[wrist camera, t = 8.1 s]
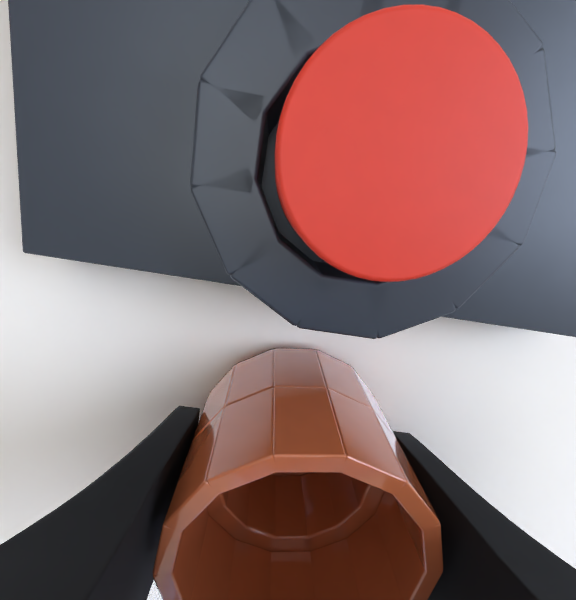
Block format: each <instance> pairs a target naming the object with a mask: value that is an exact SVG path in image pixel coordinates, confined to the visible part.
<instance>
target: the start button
mask: <svg viewBox="0 0 576 600" xmlns="http://www.w3.org/2000/svg"><path fill="white" fill-rule="evenodd" d="M527 144H528V117H527V108H526V103H525V98H524V93H523V89H522V87H521V84H520V81H519V78H518V75H517V73H516V71H515V69H514V67H513V65H512V63H511V61H510V59H509V58H508V56H507V55H506V53H505V52H504V51H503V49H502V48H501V46H500V45H499V44H498V43H497V42H496V41H495V40H494V39H493V37H492V36H491V35H490V34H489V33H488V32H487V31H485V30H484V29H483V28H481V27H480V26H479V25H477V24H476V23H475V22H473V21H472V20H470V19H468V18H466V17H464V16H462V15H460V14H458V13H456V12H453V11H450V10H447V9H444V8H441V7H435V6H429V5H399V6H394V7H388V8H383V9H380V10H377V11H374V12H372V13H369V14H366V15H364V16H362V17H360V18H358V19H356V20H354V21H352V22H350V23H348V24H347V25H345V26H344V27H342V28H341V29H339V30H338V31H337V32H335V33H334V34H332V35H331V36H330V37H329V38H328V39H327V40H326V41H325V42H324V43H323V44H322V45H320V46H319V47H318V48H317V50H316V51H315V52H314V53H313V54H312V56H311V57H310V58H309V59H308V60H307V62H306V63H305V64H304V66H303V67H302V69H301V71H300V72H299V74H298V75H297V77H296V78H295V80H294V82H293V84H292V86H291V88H290V91H289V93H288V95H287V97H286V100H285V103H284V106H283V109H282V112H281V115H280V119H279V123H278V128H277V133H276V143H275V181H276V187H277V193H278V197H279V200H280V204H281V207H282V209H283V211H284V213H285V216H286V218H287V219H288V221H289V223H290V224H291V226H292V228H293V229H294V230H295V231H296V233H297V234H298V235H299V236H300V238H301V239H302V240H303V241H304V242H305V244H306V245H307V246H308V247H309V248H310V249H311V250H312V251H313V252H314V253H315V254H316V255H317V256H318V257H320V258H321V259H323V260H324V261H325V262H327V263H328V264H329V265H331V266H333V267H335V268H336V269H338V270H340V271H342V272H344V273H347V274H349V275H352V276H355V277H357V278H362V279H366V280H370V281H380V282H399V281H406V280H412V279H417V278H420V277H424V276H427V275H430V274H432V273H435V272H437V271H439V270H442V269H444V268H446V267H448V266H449V265H451V264H453V263H455V262H456V261H458V260H460V259H461V258H462V257H464V256H465V255H466V254H468V253H469V252H470V251H472V250H473V249H474V248H475V247H476V246H477V245H478V244H479V243H480V242H482V241H483V240H484V239H485V237H486V236H487V235H488V234H489V233H490V232H491V230H492V229H493V228H494V227H495V226H496V224H497V223H498V221H499V220H500V218H501V217H502V216H503V214H504V213H505V211H506V209H507V207H508V205H509V203H510V202H511V200H512V198H513V196H514V193H515V191H516V188H517V186H518V183H519V181H520V178H521V174H522V170H523V167H524V163H525V157H526V151H527Z"/></svg>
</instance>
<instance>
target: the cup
mask: <svg viewBox="0 0 576 600" xmlns="http://www.w3.org/2000/svg"><path fill="white" fill-rule="evenodd" d="M152 572H153V578H154V580H155V583H156V585H157V587H158V589H159V592H160V594H161V596H162V599H163V600H428V599H429V597H430V595H431V593H432V592H433V590H434V588H435V586H436V584H437V582H438V581H439V579H440V577H441V575H442V573H443V554H442V537H441V524H440V522H439V519H438V517H437V515H436V513H435V511H434V509H433V508H432V506H431V504H430V502H429V500H428V498H427V496H426V494H425V492H424V490H423V488H422V487H421V485H420V483H419V481H418V479H417V477H416V475H415V473H414V471H413V469H412V467H411V466H410V464H409V462H408V460H407V458H406V456H405V454H404V452H403V450H402V448H401V447H400V445H399V443H398V441H397V439H396V437H395V435H394V433H393V431H392V430H391V428H390V426H389V424H388V422H387V420H386V418H385V416H384V414H383V412H382V410H381V409H380V407H379V405H378V403H377V401H376V399H375V397H374V395H373V394H372V392H371V391H370V390H369V388H368V387H367V386H366V384H365V383H364V382H363V380H362V379H361V378H360V376H359V375H358V374H357V372H356V371H355V370H354V368H352V367H351V366H350V365H348V364H346V363H344V362H342V361H340V360H338V359H336V358H334V357H332V356H330V355H327V354H325V353H323V352H321V351H319V350H315V349H289V348H275V349H271V350H269V351H266V352H264V353H262V354H259V355H257V356H254V357H252V358H249V359H247V360H245V361H242V362H240V363H237V364H236V365H234V366H233V367H232V368H231V369H230V370H229V372H228V373H227V374H226V375H225V376H224V377H223V378H222V379H221V380H220V382H219V383H218V384H217V385H216V386H215V387H214V388H213V389H212V390H211V392H210V394H209V396H208V399H207V401H206V404H205V407H204V410H203V413H202V415H201V418H200V421H199V424H198V427H197V429H196V432H195V435H194V438H193V441H192V444H191V446H190V449H189V452H188V455H187V457H186V460H185V463H184V466H183V469H182V471H181V474H180V477H179V480H178V483H177V486H176V488H175V491H174V494H173V497H172V500H171V502H170V505H169V508H168V511H167V514H166V516H165V519H164V522H163V525H162V529H161V534H160V539H159V543H158V548H157V553H156V557H155V562H154V566H153V571H152Z"/></svg>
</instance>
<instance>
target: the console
mask: <svg viewBox="0 0 576 600" xmlns="http://www.w3.org/2000/svg"><path fill="white" fill-rule="evenodd" d="M8 4H9V21H10V38H11V55H12V72H13V89H14V106H15V123H16V140H17V157H18V174H19V191H20V208H21V225H22V242H23V252H24V253H29V254H35V255H42V256H48V257H55V258H61V259H68V260H75V261H81V262H88V263H94V264H101V265H107V266H114V267H120V268H127V269H134V270H140V271H147V272H153V273H160V274H166V275H173V276H179V277H186V278H192V279H199V280H206V281H212V282H219V283H225V284H232V285H238V286H242V287H244V288H245V289H246V290H248V291H249V292H250V293H252V294H253V295H254V296H255V297H257V298H258V299H259V300H261V301H262V302H263V303H265V304H266V305H267V306H269V307H270V308H271V309H272V310H274V311H275V312H276V313H278V314H279V315H280V316H282V317H283V318H284V319H286V320H287V321H288V322H289V323H291V324H292V325H295V326H296V325H297V327H299V328H302V329H309V330H316V331H323V332H330V333H337V334H344V335H351V336H358V337H365V338H372V339H375V338H382V337H385V336H388V335H391V334H393V333H396V332H399V331H402V330H405V329H408V328H410V327H413V326H416V325H419V324H422V323H424V322H427V321H430V320H433V319H436V318H439V317H448V318H455V319H461V320H468V321H474V322H481V323H487V324H494V325H500V326H507V327H514V328H520V329H527V330H533V331H540V332H546V333H553V334H559V335H566V336H573V337H576V0H8ZM399 5H429V6H435V7H441V8H444V9H447V10H450V11H453V12H456V13H458V14H460V15H462V16H464V17H466V18H468V19H470V20H472V21H473V22H475V23H476V24H477V25H479V26H480V27H481V28H483V29H484V30H485V31H487V32H488V33H489V34H490V35H491V36H492V37H493V39H494V40H495V41H496V42H497V43H498V44H499V45H500V46H501V48H502V49H503V51H504V52H505V53H506V55H507V56H508V58H509V59H510V61H511V63H512V65H513V67H514V69H515V71H516V73H517V75H518V78H519V81H520V84H521V87H522V89H523V93H524V98H525V103H526V108H527V117H528V144H527V151H526V157H525V163H524V167H523V170H522V174H521V178H520V181H519V183H518V186H517V188H516V191H515V193H514V196H513V198H512V200H511V202H510V203H509V205H508V207H507V209H506V211H505V213H504V214H503V216H502V217H501V218H500V220H499V221H498V223H497V224H496V226H495V227H494V228H493V229H492V230H491V232H490V233H489V234H488V235H487V236H486V237H485V239H484V240H483V241H482V242H480V243H479V244H478V245H477V246H476V247H475V248H474V249H473V250H472V251H470V252H469V253H468V254H466V255H465V256H464V257H462V258H461V259H460V260H458V261H456V262H455V263H453V264H451V265H449V266H448V267H446V268H444V269H442V270H439V271H437V272H435V273H432V274H430V275H427V276H424V277H420V278H417V279H412V280H406V281H399V282H380V281H370V280H366V279H362V278H357V277H355V276H352V275H349V274H347V273H344V272H342V271H340V270H338V269H336V268H335V267H333V266H331V265H329V264H328V263H327V262H325V261H324V260H323V259H321V258H320V257H318V256H317V255H316V254H315V253H314V252H313V251H312V250H311V249H310V248H309V247H308V246H307V245H306V244H305V242H304V241H303V240H302V239H301V238H300V236H299V235H298V234H297V233H296V231H295V230H294V229H293V228H292V226H291V224H290V223H289V221H288V219H287V218H286V216H285V213H284V211H283V209H282V207H281V204H280V200H279V197H278V193H277V187H276V181H275V143H276V133H277V128H278V123H279V119H280V115H281V112H282V109H283V106H284V103H285V100H286V97H287V95H288V93H289V91H290V88H291V86H292V84H293V82H294V80H295V78H296V77H297V75H298V74H299V72H300V71H301V69H302V67H303V66H304V64H305V63H306V62H307V60H308V59H309V58H310V57H311V56H312V54H313V53H314V52H315V51H316V50H317V48H318V47H319V46H320V45H322V44H323V43H324V42H325V41H326V40H327V39H328V38H329V37H330V36H331V35H332V34H334V33H335V32H337V31H338V30H339V29H341V28H342V27H344V26H345V25H347V24H348V23H350V22H352V21H354V20H356V19H358V18H360V17H362V16H364V15H366V14H369V13H372V12H374V11H377V10H380V9H383V8H388V7H394V6H399Z"/></svg>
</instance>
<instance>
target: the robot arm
mask: <svg viewBox="0 0 576 600" xmlns="http://www.w3.org/2000/svg"><path fill="white" fill-rule="evenodd" d="M199 411H200V408H193V407H184V406H179V407H177V408H176V409H175V410H174V411H173V412H172V413H171V414H170V415H169V416H168V417H167V418H166V419H165V420H164V421H163V422H162V423H161V424H160V425H159V426H158V427H157V428H156V429H155V430H154V431H153V432H151V433H150V434H149V435H148V436H147V437H146V438H145V439H144V440H143V441H142V442H141V443H139V444H138V445H137V446H136V447H135V448H134V449H133V450H132V451H131V452H129V453H128V454H127V455H126V456H125V457H124V458H122V459H121V460H120V461H119V462H118V463H116V464H115V465H114V466H113V467H111V468H110V469H109V470H108V471H106V472H105V473H104V474H103V475H102V476H100V477H99V478H98V479H97V480H95V481H94V482H93V483H91V484H90V485H89V486H87V487H86V488H85V489H83V490H82V491H81V492H79V493H78V494H77V495H75V496H74V497H72V498H71V499H70V500H68V501H67V502H65V503H64V504H62V505H61V506H60V507H58V508H57V509H55V510H54V511H52V512H51V513H49V514H48V515H46V516H45V517H43V518H42V519H40V520H39V521H37V522H36V523H34V524H33V525H31V526H29V527H28V528H26V529H25V530H23V531H22V532H20V533H18V534H17V535H15V536H14V537H12V538H11V539H9V540H7V541H6V542H4V543H3V544H1V545H0V600H147V597H148V594H149V591H150V588H151V585H152V583H153V580H154V578H153V572H152V571H153V566H154V562H155V557H156V553H157V548H158V543H159V539H160V534H161V529H162V525H163V522H164V519H165V516H166V514H167V511H168V508H169V505H170V502H171V500H172V497H173V494H174V491H175V488H176V486H177V483H178V480H179V477H180V474H181V471H182V469H183V466H184V463H185V460H186V457H187V455H188V452H189V449H190V446H191V444H192V441H193V438H194V435H195V432H196V429H197V427H198V421H199ZM393 433H394V435H395V437H396V439H397V441H398V443H399V445H400V447H401V448H402V450H403V452H404V454H405V456H406V458H407V460H408V462H409V464H410V466H411V467H412V469H413V471H414V473H415V475H416V477H417V479H418V481H419V483H420V485H421V487H422V488H423V490H424V492H425V494H426V496H427V498H428V500H429V502H430V504H431V506H432V508H433V509H434V511H435V513H436V515H437V517H438V519H439V522H440V524H441V537H442V554H443V573H442V575H441V577H440V579H439V581H438V582H437V584H436V586H435V588H434V590H433V592H432V593H431V595H430V597H429V599H428V600H576V569H575V568H573V567H572V566H571V565H569V564H568V563H566V562H565V561H563V560H562V559H561V558H559V557H558V556H556V555H555V554H554V553H552V552H551V551H550V550H548V549H547V548H546V547H544V546H543V545H542V544H540V543H539V542H537V541H536V540H535V539H533V538H532V537H531V536H529V535H528V534H527V533H525V532H524V531H523V530H522V529H520V528H519V527H518V526H516V525H515V524H514V523H513V522H511V521H510V520H509V519H508V518H506V517H505V516H504V515H503V514H502V513H500V512H499V511H498V510H497V509H495V508H494V507H493V506H492V505H491V504H489V503H488V502H487V501H486V500H485V499H483V498H482V497H481V496H480V495H479V494H478V493H476V492H475V491H474V490H473V489H472V488H471V487H470V486H468V485H467V484H466V483H465V482H464V481H463V480H462V479H461V478H459V477H458V476H457V475H456V474H455V473H454V472H453V471H452V470H450V469H449V468H448V467H447V466H446V465H445V464H444V463H443V462H442V461H441V460H439V459H438V458H437V457H436V456H435V455H434V454H433V453H432V452H431V451H430V450H428V449H427V448H426V447H425V446H424V445H423V444H422V443H420V442H419V441H418V440H417V439H416V438H415V437H413V436H412V435H411V434H410V433H402V432H394V431H393Z"/></svg>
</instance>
